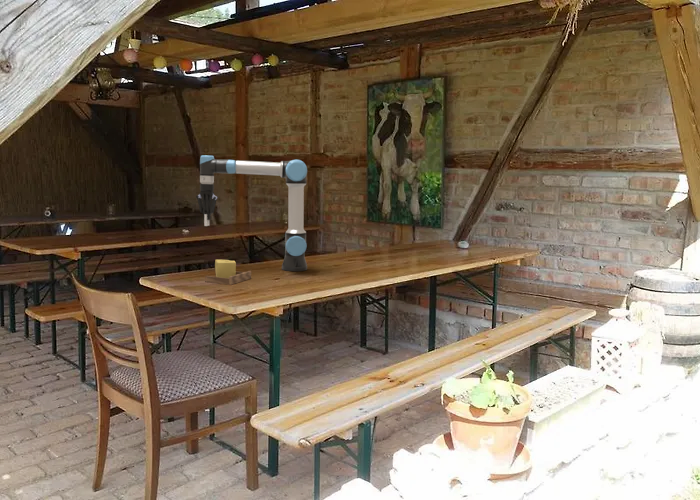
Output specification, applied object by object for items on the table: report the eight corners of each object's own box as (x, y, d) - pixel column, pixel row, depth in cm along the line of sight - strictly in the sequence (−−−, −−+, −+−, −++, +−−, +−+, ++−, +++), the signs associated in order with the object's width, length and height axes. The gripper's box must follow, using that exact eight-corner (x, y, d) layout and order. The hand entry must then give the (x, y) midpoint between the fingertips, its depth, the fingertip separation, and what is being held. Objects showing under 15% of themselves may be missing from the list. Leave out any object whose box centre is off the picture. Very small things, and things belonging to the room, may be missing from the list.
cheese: (234, 277, 333) (234, 259, 332) (236, 280, 323) (236, 262, 322) (214, 277, 330) (214, 259, 329) (216, 281, 320) (216, 262, 319)
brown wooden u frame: (226, 275, 336) (226, 268, 336) (251, 278, 331) (251, 271, 330) (205, 281, 317) (205, 274, 317) (231, 284, 312) (231, 277, 311)
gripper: (193, 183, 337) (193, 225, 340) (213, 184, 332) (213, 227, 336) (200, 182, 344) (200, 224, 347) (220, 183, 339) (220, 226, 343)
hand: (206, 225), depth 341 cm, fingers closed
